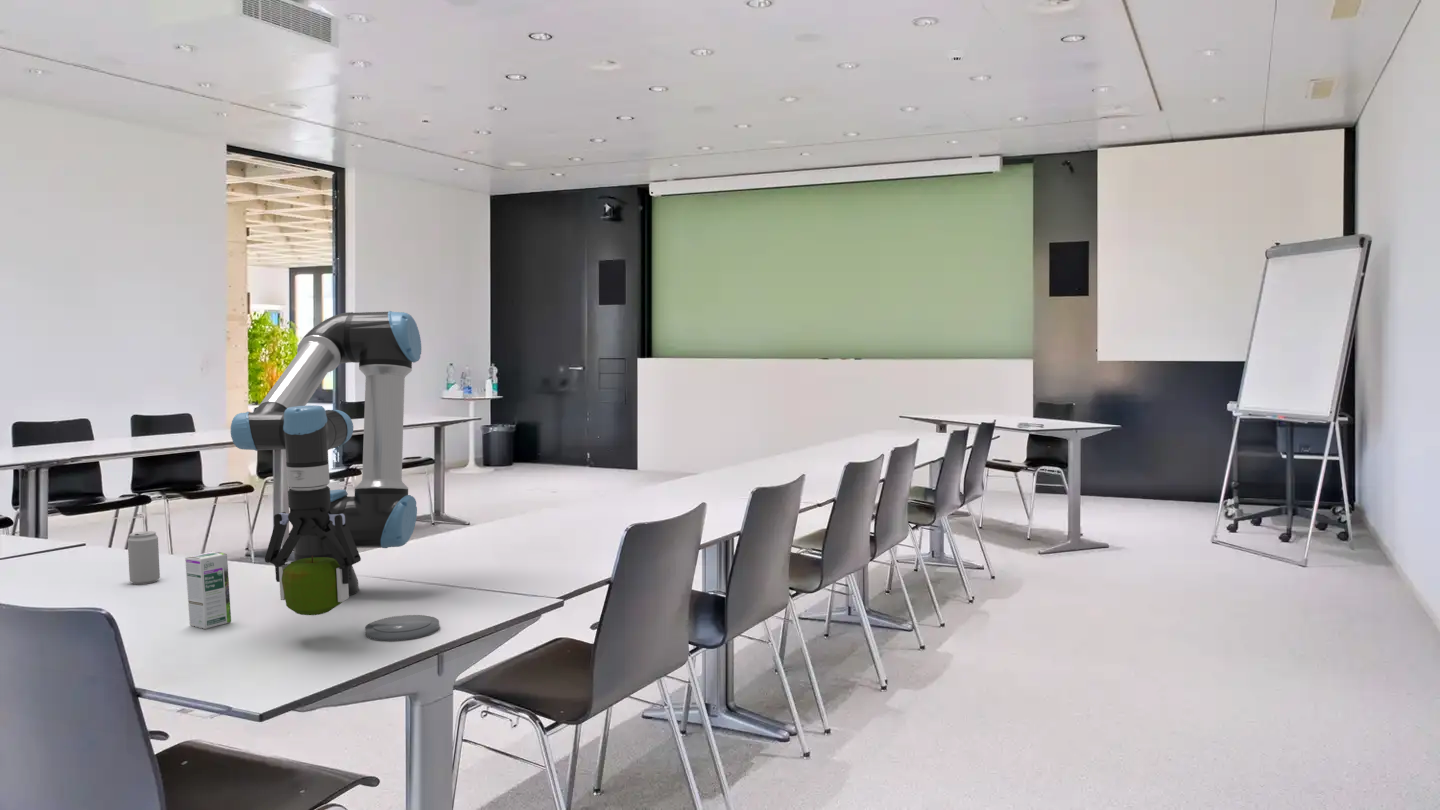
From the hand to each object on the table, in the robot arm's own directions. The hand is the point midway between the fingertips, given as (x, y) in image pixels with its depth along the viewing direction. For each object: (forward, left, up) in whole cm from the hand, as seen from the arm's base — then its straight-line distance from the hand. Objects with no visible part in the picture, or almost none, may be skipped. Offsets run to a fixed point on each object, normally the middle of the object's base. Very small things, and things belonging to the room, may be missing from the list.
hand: (314, 599), depth 199 cm
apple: (0, 0, -2) cm, 2 cm away
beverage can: (-68, +39, -8) cm, 79 cm away
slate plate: (+14, +7, -8) cm, 18 cm away
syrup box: (-28, +7, -8) cm, 30 cm away
